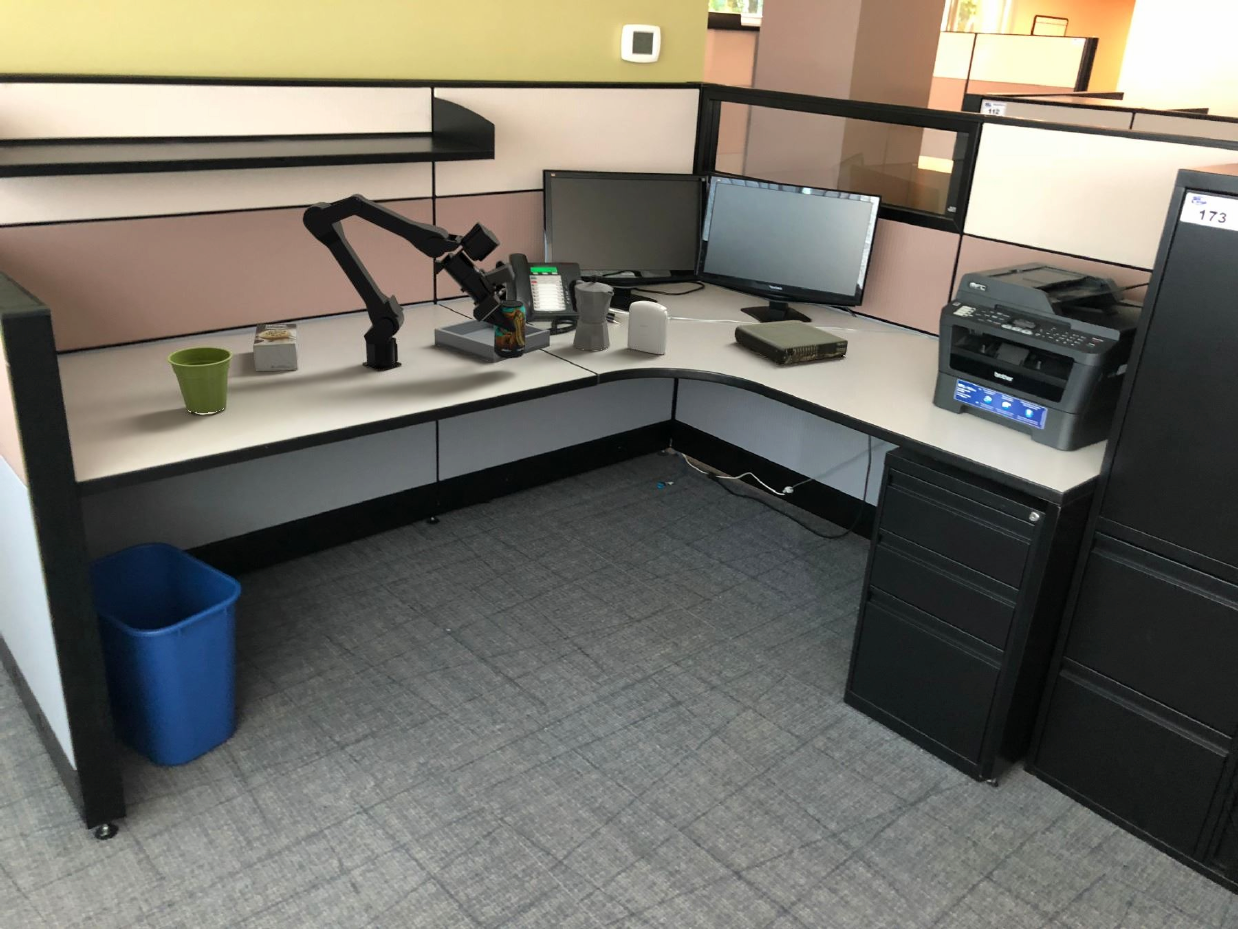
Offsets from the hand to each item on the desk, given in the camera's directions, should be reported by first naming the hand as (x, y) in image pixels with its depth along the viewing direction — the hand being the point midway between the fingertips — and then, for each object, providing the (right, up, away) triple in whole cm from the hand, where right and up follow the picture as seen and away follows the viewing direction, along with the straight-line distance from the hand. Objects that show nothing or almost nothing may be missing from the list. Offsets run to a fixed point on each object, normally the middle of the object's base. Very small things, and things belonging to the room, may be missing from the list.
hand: (516, 326), depth 229 cm
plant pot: (-59, -21, -27) cm, 68 cm away
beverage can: (-2, -6, +3) cm, 7 cm away
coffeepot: (+15, -1, +27) cm, 31 cm away
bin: (-8, -2, +22) cm, 24 cm away
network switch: (+67, -2, +33) cm, 74 cm away
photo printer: (+30, -3, +25) cm, 39 cm away
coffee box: (-52, -8, -6) cm, 53 cm away
